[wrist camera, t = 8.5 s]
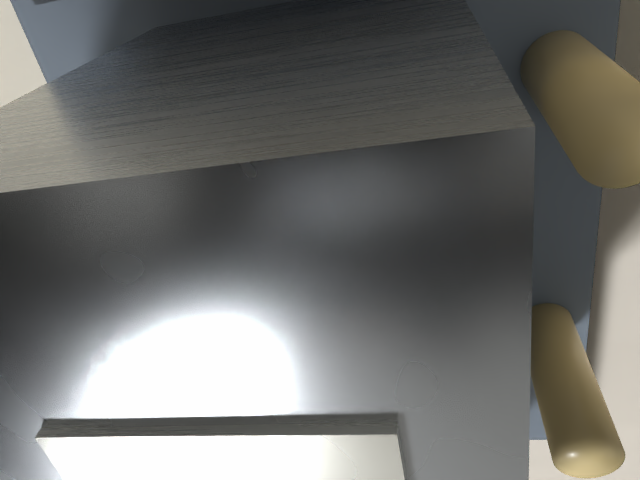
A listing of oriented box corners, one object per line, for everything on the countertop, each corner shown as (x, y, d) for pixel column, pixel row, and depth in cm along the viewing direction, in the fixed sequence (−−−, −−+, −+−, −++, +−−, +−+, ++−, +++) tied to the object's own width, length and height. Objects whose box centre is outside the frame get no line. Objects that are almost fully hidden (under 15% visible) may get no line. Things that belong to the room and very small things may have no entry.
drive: (472, 378, 12) (524, 760, 6) (273, 384, 12) (181, 721, 7) (448, -29, 7) (539, 134, 2) (155, 27, 8) (-232, 228, 3)
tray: (568, 411, 13) (621, 581, 10) (216, 415, 15) (163, 559, 11) (621, -247, 7) (818, -377, 3) (4, -91, 9) (-235, -83, 5)
